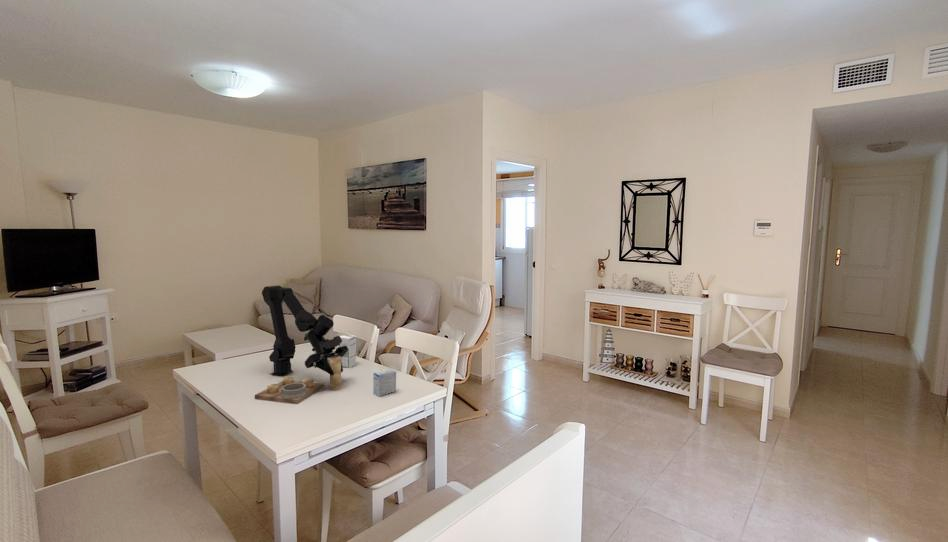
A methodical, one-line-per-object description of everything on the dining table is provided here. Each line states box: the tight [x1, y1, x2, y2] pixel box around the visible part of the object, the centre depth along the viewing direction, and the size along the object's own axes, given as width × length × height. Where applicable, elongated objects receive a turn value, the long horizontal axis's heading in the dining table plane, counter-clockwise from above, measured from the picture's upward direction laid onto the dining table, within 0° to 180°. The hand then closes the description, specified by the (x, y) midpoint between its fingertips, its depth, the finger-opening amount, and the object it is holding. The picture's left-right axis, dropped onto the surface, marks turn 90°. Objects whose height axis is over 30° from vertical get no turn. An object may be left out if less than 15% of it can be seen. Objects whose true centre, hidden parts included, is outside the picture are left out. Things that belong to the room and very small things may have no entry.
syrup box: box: [338, 334, 357, 369], centre depth 204 cm, size 6×6×14 cm
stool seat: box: [254, 375, 325, 405], centre depth 169 cm, size 18×18×4 cm
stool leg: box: [329, 356, 342, 391], centre depth 174 cm, size 4×4×13 cm
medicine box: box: [372, 368, 397, 397], centre depth 171 cm, size 8×4×9 cm, turn 135°
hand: (337, 373), depth 174 cm, fingers closed on stool leg, 4 cm apart
